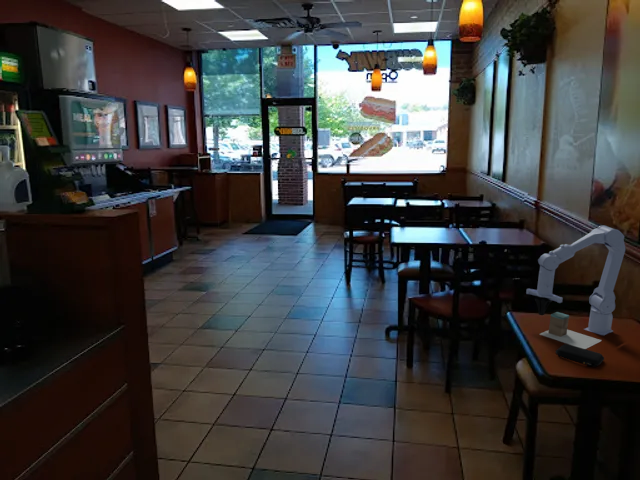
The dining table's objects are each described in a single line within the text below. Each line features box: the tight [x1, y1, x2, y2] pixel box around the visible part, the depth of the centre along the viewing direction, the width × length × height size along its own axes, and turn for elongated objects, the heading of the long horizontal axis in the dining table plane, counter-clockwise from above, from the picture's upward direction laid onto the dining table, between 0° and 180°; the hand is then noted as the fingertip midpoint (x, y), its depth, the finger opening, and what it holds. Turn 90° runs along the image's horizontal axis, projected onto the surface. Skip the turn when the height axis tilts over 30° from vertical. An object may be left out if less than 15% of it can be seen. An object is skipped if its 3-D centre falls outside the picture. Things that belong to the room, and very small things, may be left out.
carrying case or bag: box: [555, 343, 605, 368], centre depth 184 cm, size 11×3×15 cm
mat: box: [539, 328, 602, 350], centre depth 203 cm, size 15×18×1 cm
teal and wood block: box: [548, 311, 570, 337], centre depth 205 cm, size 5×5×8 cm
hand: (541, 314), depth 211 cm, fingers closed
